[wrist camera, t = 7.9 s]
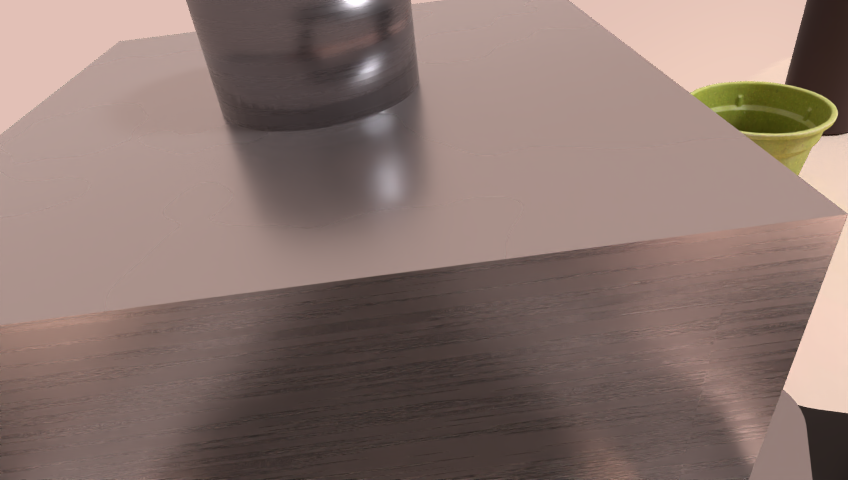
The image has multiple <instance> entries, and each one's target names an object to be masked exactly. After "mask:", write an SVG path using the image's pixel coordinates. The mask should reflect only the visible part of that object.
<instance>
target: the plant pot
mask: <svg viewBox="0 0 848 480" xmlns="http://www.w3.org/2000/svg"><path fill="white" fill-rule="evenodd" d="M690 94H692V95H693V96H694V97H696V98H697V99H698V100H700V101H701V102H702V103H703V104H705V105H706V106H707V107H709V108H710V109H711V110H713V111H714V112H715V113H717V114H718V115H719V116H720V117H722V118H723V119H724V120H726V121H727V122H728V123H730V124H731V125H732V126H734V127H735V128H736V129H737V130H739V131H740V132H741V133H743V134H744V135H745V136H747V137H748V138H749V139H750V140H752V141H753V142H754V143H756V144H757V145H758V146H760V147H761V148H762V149H764V150H765V151H766V152H767V153H769V154H770V155H771V156H773V157H774V158H775V159H777V160H778V161H779V162H781V163H782V164H783V165H784V166H786V167H787V168H788V169H790V170H791V171H792V172H794V173H795V174H796V175H799V173H800V171H801V169H802V167H803V165H804V163H805V161H806V159H807V157H808V154H809V152H810V150H811V148H812V147H813V146H814V145H815V144H816V143H817V142H818V141H819V139H820V138H821V136H822V134H823V132H824V131H825V130H827V129H828V128H830V127H831V126H832V125H833V124H834V122H835V121H836V119H837V116H838V110H837V108H836V106H835V105H834V104H833V103H832V102H831V101H830V100H828V99H827V98H825V97H823V96H822V95H819V94H817V93H815V92H812V91H809V90H806V89H802V88H798V87H795V86H790V85H784V84H778V83H771V82H754V81H740V82H728V83H719V84H713V85H709V86H706V87H702V88H699V89H696V90H695V91H693V92H691V93H690Z"/></svg>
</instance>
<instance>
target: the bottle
mask: <svg viewBox="0 0 848 480" xmlns="http://www.w3.org/2000/svg"><path fill="white" fill-rule="evenodd" d="M785 85H790V86H795V87H798V88H802V89H806V90H809V91H812V92H815V93H817V94H819V95H822V96H823V97H825V98H827V99H828V100H830V101H831V102H832V103H833V104H834V105H835V106H836V108H837V110H838V116H837V119H836V121H835V122H834V124H833V125H832V126H831V127H830V128H828V129H827V130H825V131H824V132H823V134H826V135H830V134H841V133H845V132H848V0H807V2H806V6H805V10H804V14H803V18H802V21H801V25H800V29H799V33H798V37H797V40H796V44H795V48H794V52H793V56H792V59H791V63H790V67H789V71H788V75H787V78H786V82H785Z"/></svg>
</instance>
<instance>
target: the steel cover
mask: <svg viewBox="0 0 848 480" xmlns="http://www.w3.org/2000/svg"><path fill="white" fill-rule="evenodd" d="M186 1H187V4H188V7H189V11H190V14H191V17H192V20H193V23H194V26H195V30H196V32H190V33H183V34H175V35H167V36H160V37H152V38H143V39H135V40H128V41H120V42H118V43H117V44H116V45H114V46H113V47H112V48H111V49H109V50H108V51H107V52H106V53H104V54H103V55H102V56H100V57H99V58H98V59H97V60H95V61H94V62H93V63H92V64H90V65H89V66H88V67H86V68H85V69H84V70H82V71H81V72H80V73H79V74H77V75H76V76H75V77H74V78H72V79H71V80H70V81H69V82H67V83H66V84H65V85H63V86H62V87H61V88H60V89H58V90H57V91H56V92H54V93H53V94H52V95H51V96H49V97H48V98H47V99H45V100H44V101H43V102H42V103H40V104H39V105H38V106H37V107H35V108H34V109H33V110H31V111H30V112H29V113H28V114H26V115H25V116H24V117H23V118H21V119H20V120H19V121H18V122H16V123H15V124H14V125H12V126H11V127H10V128H9V129H7V130H6V131H5V132H3V133H2V134H1V135H0V480H749V477H750V475H751V472H752V469H753V467H754V464H755V461H756V459H757V456H758V453H759V451H760V448H761V445H762V443H763V440H764V437H765V435H766V432H767V429H768V427H769V424H770V421H771V419H772V416H773V413H774V411H775V408H776V405H777V403H778V400H779V397H780V395H781V392H782V389H783V387H784V384H785V381H786V379H787V376H788V373H789V371H790V368H791V365H792V363H793V360H794V357H795V355H796V352H797V349H798V347H799V344H800V341H801V338H802V336H803V333H804V330H805V328H806V325H807V322H808V320H809V317H810V314H811V312H812V309H813V306H814V304H815V301H816V298H817V296H818V293H819V290H820V288H821V285H822V282H823V280H824V277H825V274H826V272H827V269H828V266H829V264H830V261H831V258H832V256H833V253H834V250H835V248H836V245H837V242H838V240H839V237H840V234H841V232H842V229H843V226H844V224H845V221H846V218H847V216H848V214H847V213H846V212H845V211H843V210H842V209H841V208H839V207H838V206H837V205H835V204H834V203H833V202H832V201H830V200H829V199H828V198H826V197H825V196H824V195H822V194H821V193H820V192H818V191H817V190H816V189H815V188H813V187H812V186H811V185H809V184H808V183H807V182H805V181H804V180H803V179H801V178H800V177H799V176H798V175H796V174H795V173H794V172H792V171H791V170H790V169H788V168H787V167H786V166H784V165H783V164H782V163H781V162H779V161H778V160H777V159H775V158H774V157H773V156H771V155H770V154H769V153H767V152H766V151H765V150H764V149H762V148H761V147H760V146H758V145H757V144H756V143H754V142H753V141H752V140H750V139H749V138H748V137H747V136H745V135H744V134H743V133H741V132H740V131H739V130H737V129H736V128H735V127H734V126H732V125H731V124H730V123H728V122H727V121H726V120H724V119H723V118H722V117H720V116H719V115H718V114H717V113H715V112H714V111H713V110H711V109H710V108H709V107H707V106H706V105H705V104H703V103H702V102H701V101H700V100H698V99H697V98H696V97H694V96H693V95H692V94H690V93H689V92H688V91H686V90H685V89H684V88H683V87H681V86H680V85H679V84H677V83H676V82H675V81H673V80H672V79H671V78H669V77H668V76H667V75H665V74H664V73H663V72H662V71H660V70H659V69H658V68H656V67H655V66H654V65H653V64H651V63H650V62H649V61H647V60H646V59H645V58H643V57H642V56H641V55H639V54H638V53H637V52H636V51H634V50H633V49H632V48H630V47H629V46H627V45H626V44H625V43H624V42H622V41H621V40H620V39H618V38H617V37H616V36H615V35H613V34H612V33H611V32H609V31H608V30H606V29H605V28H604V27H603V26H602V25H600V24H599V23H598V22H596V21H595V20H594V19H592V18H591V17H590V16H588V15H587V14H586V13H584V12H583V11H582V10H580V9H579V8H578V7H577V6H575V5H574V4H573V3H572V2H570V1H569V0H442V1H435V2H427V3H419V4H411V0H186Z"/></svg>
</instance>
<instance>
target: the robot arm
mask: <svg viewBox="0 0 848 480" xmlns="http://www.w3.org/2000/svg"><path fill="white" fill-rule="evenodd" d="M749 480H848V413H841V412H833V411H826V410H818V409H812V408H807V407H803V406H799V405H797V403H796V402H795V401H794V400H793V399H792V398H791V396H790V395H789V394H788V393H786V392H785V391H784V390H783V389H782V392H781V395H780V397H779V400H778V403H777V405H776V408H775V411H774V413H773V416H772V419H771V421H770V424H769V427H768V429H767V432H766V435H765V437H764V440H763V443H762V445H761V448H760V451H759V453H758V456H757V459H756V461H755V464H754V467H753V469H752V472H751V475H750V477H749Z"/></svg>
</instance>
